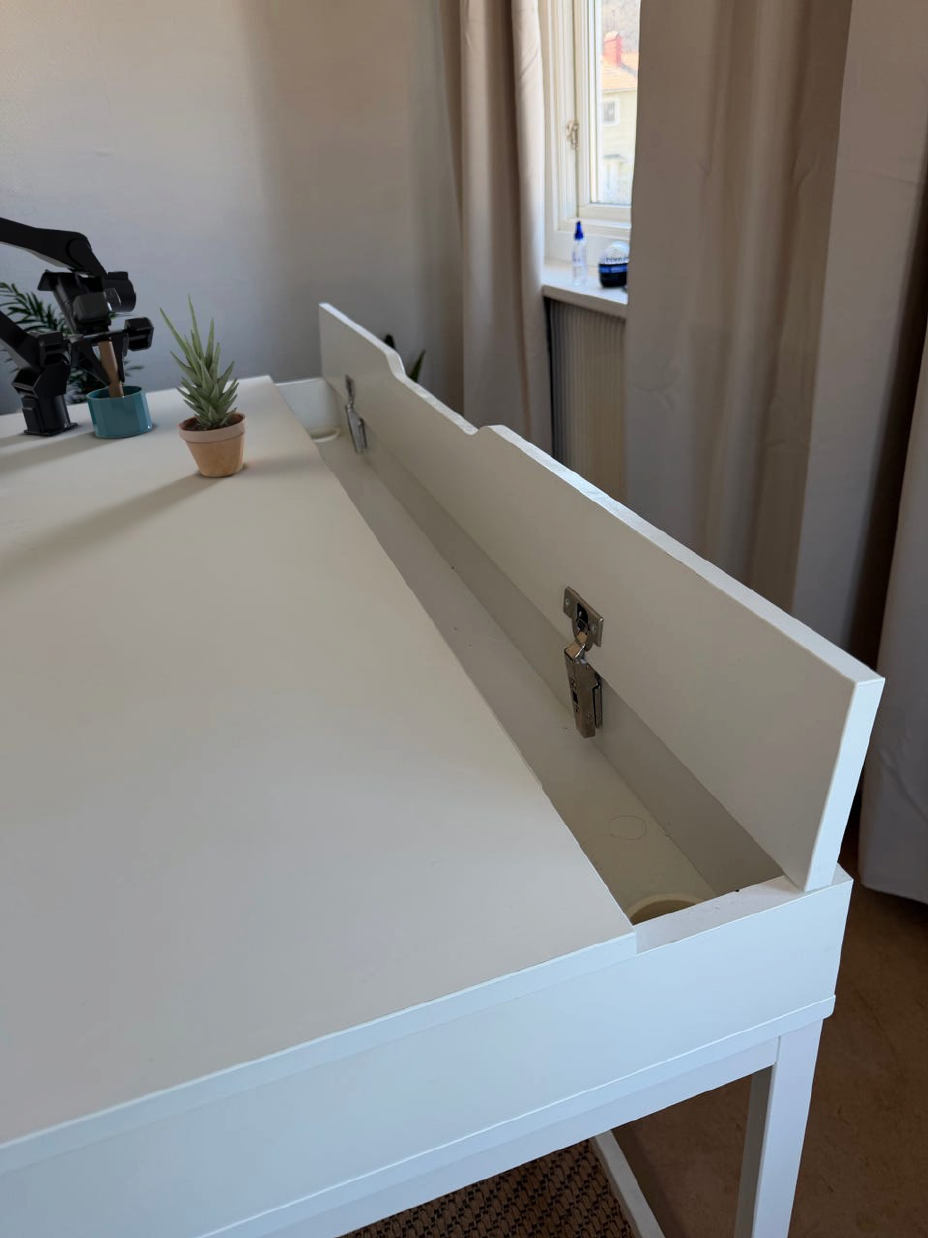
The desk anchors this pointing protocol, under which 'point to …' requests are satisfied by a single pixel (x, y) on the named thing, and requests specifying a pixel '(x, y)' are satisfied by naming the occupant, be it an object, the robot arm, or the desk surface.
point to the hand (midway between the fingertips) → (116, 382)
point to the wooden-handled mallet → (110, 369)
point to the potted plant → (209, 406)
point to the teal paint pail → (119, 412)
